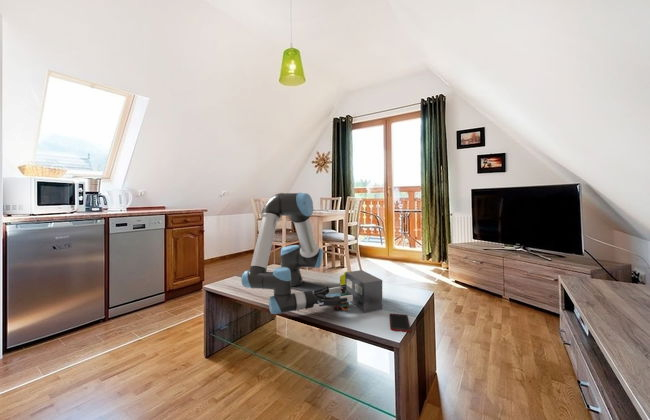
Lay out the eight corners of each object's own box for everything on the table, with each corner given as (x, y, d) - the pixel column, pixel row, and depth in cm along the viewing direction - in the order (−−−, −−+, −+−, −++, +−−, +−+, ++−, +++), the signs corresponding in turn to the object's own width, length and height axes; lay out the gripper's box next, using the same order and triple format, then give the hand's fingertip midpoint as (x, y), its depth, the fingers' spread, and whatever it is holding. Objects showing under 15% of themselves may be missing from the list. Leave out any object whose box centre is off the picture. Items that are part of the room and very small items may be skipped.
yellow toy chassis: (368, 288, 153) (368, 274, 153) (363, 291, 149) (363, 276, 148) (344, 283, 162) (344, 270, 162) (339, 286, 157) (339, 272, 157)
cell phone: (390, 331, 104) (390, 329, 104) (389, 315, 118) (389, 313, 118) (410, 333, 102) (410, 331, 102) (407, 316, 117) (407, 314, 116)
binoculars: (329, 284, 131) (349, 283, 129) (331, 305, 131) (351, 304, 129) (326, 290, 122) (347, 289, 120) (328, 312, 122) (349, 312, 120)
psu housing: (344, 298, 137) (344, 272, 137) (361, 295, 141) (361, 270, 141) (363, 312, 120) (363, 282, 119) (382, 309, 124) (382, 280, 123)
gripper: (296, 299, 130) (336, 292, 138) (312, 319, 108) (358, 310, 116) (296, 284, 129) (336, 278, 138) (312, 301, 107) (358, 294, 116)
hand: (346, 293), depth 127 cm, fingers open, 11 cm apart
